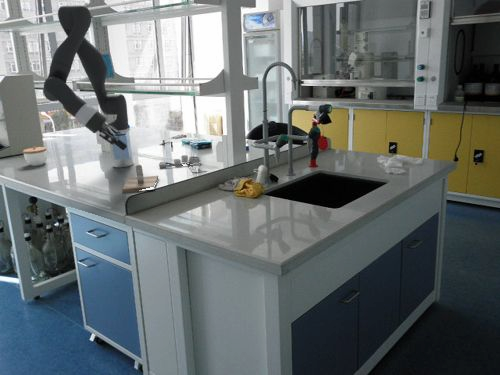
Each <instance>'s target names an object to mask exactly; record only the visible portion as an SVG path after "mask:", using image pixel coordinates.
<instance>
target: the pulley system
mask: <svg viewBox="0 0 500 375" xmlns="http://www.w3.org/2000/svg"><path fill="white" fill-rule="evenodd" d="M180 158H181V159H179V158H176V159H174V160H173V163H172V162H167V161H159V163H158V167H159V168H172V167H171V166H183V165H182V164H185V163H189V164H193V166H200V167H201V163H199V162H201V159H200V158H201V157H200V156H188V155H185V154H184V155H181V156H180ZM168 164H169V165H168ZM189 164H188V165H189ZM190 166H191V165H189V167H190ZM193 166H192V167H193ZM189 167H188V168H189ZM190 168H191V167H190Z"/></svg>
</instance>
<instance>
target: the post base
mask: <svg viewBox="0 0 500 375" xmlns="http://www.w3.org/2000/svg"><path fill="white" fill-rule="evenodd" d="M135 172H136V176H135V177H128V179H127V180H126V182H125V183H124V186H123V187H122V188H121V193H122V194H128V193H136V192H135V191H139V190H142V189H146V188H150V187H154V185H155V183H156V182H157V180H158V177H159V175H149V176H144V172H143V166H142V165H141V164H136V166H135ZM158 181H159V180H158ZM157 183H158V182H157Z"/></svg>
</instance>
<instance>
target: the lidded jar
mask: <svg viewBox="0 0 500 375" xmlns="http://www.w3.org/2000/svg"><path fill="white" fill-rule="evenodd" d="M22 153H23V157H24V159H25V161H26V163H27V164H29V165H30V166H31V167H37V166H42V165H44V164H45V163H46V160H47V157H48V151H47V148H46V147H45V146H38V147H37V146H36V145H33V146H32V147H29V148H25V149H23V150H22Z"/></svg>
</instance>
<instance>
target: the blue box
mask: <svg viewBox="0 0 500 375" xmlns="http://www.w3.org/2000/svg"><path fill="white" fill-rule="evenodd" d="M129 136H130V132H129V133H122V134H117V135H116V136H115V137H117V138H118V139H119V140H120V141H121V142H123V143H124V144H125V145H126V146H127V147H126V148H125V149H124V150H122V149H120V148H119V147H118V146H117V145H114V144H112V145H113V151H114V158H115V160H119V159H130V157H131V156H132V157H133V151H132V146H131V144H130V143H131V136H130V137H129ZM119 140H118V141H119Z"/></svg>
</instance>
